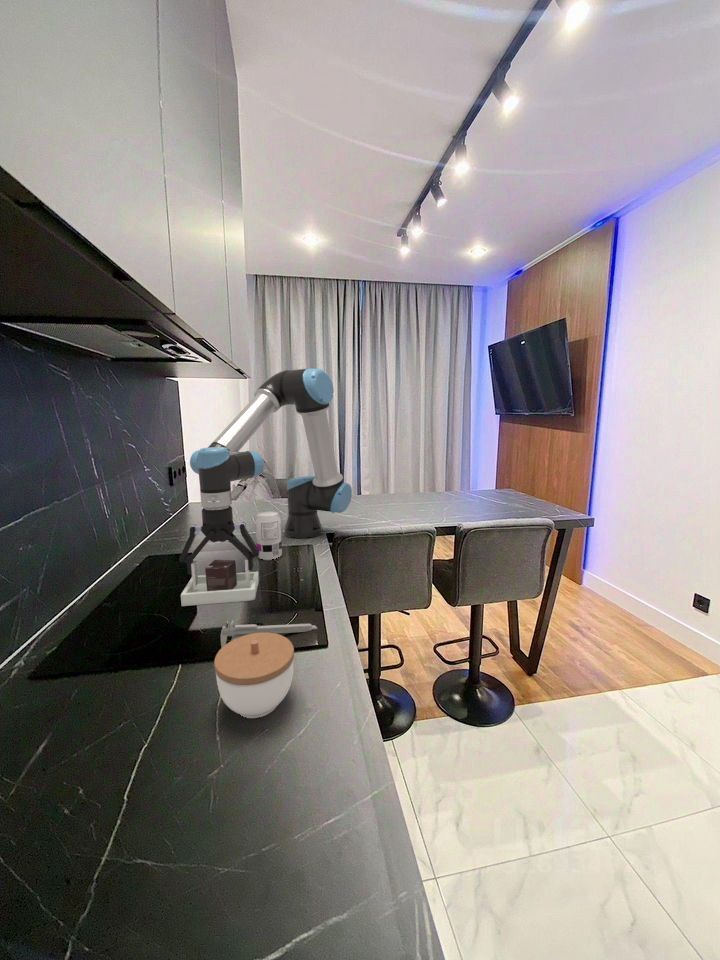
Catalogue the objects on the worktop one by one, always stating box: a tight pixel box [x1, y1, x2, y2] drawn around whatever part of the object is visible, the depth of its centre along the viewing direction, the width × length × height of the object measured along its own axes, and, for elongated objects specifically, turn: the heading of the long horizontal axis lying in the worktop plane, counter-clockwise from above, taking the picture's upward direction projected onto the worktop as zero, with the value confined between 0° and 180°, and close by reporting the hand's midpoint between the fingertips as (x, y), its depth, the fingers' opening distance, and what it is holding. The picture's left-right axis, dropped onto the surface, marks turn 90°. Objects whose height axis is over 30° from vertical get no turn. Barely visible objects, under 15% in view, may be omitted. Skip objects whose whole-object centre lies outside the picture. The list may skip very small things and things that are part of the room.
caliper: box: [220, 620, 318, 649], centre depth 84 cm, size 20×1×6 cm, turn 114°
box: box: [204, 559, 237, 591], centre depth 106 cm, size 6×6×7 cm
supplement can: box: [255, 510, 283, 561], centre depth 132 cm, size 8×8×15 cm
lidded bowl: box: [213, 633, 295, 719], centre depth 65 cm, size 13×13×11 cm
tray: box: [180, 571, 260, 607], centre depth 106 cm, size 12×18×3 cm, turn 100°
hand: (222, 583), depth 106 cm, fingers open, 13 cm apart
